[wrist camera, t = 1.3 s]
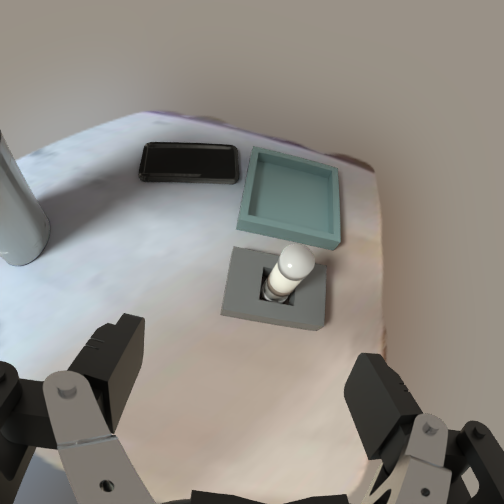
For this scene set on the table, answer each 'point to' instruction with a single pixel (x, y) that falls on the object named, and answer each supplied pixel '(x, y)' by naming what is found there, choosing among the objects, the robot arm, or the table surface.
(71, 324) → the table surface
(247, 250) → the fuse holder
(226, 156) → the phone
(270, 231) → the parts tray
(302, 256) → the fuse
